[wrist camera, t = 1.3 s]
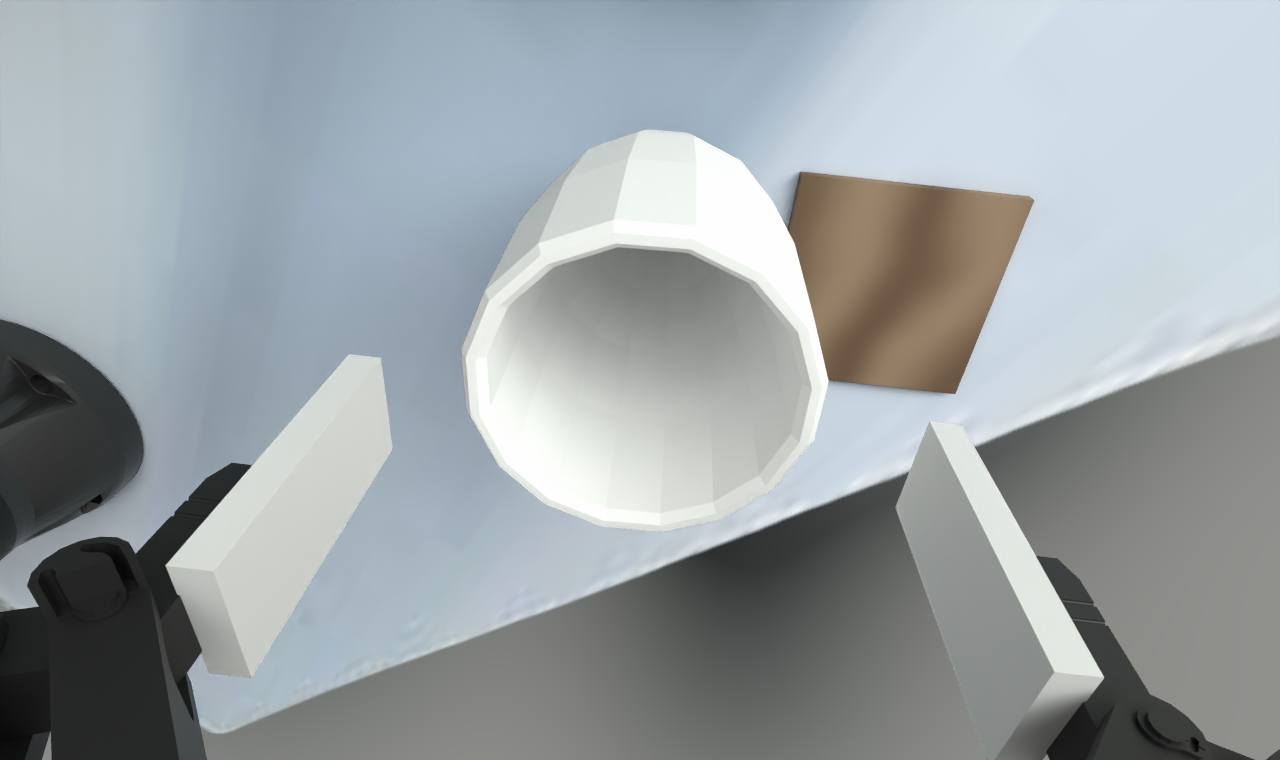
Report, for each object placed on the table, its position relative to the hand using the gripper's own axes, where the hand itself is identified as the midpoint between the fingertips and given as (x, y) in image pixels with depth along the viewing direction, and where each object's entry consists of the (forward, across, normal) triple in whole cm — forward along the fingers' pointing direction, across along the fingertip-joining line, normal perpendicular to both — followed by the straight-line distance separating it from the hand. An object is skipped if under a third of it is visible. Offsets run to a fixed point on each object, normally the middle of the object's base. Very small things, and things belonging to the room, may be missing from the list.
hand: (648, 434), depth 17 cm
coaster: (+23, +12, -5) cm, 27 cm away
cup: (+23, 0, 0) cm, 23 cm away
